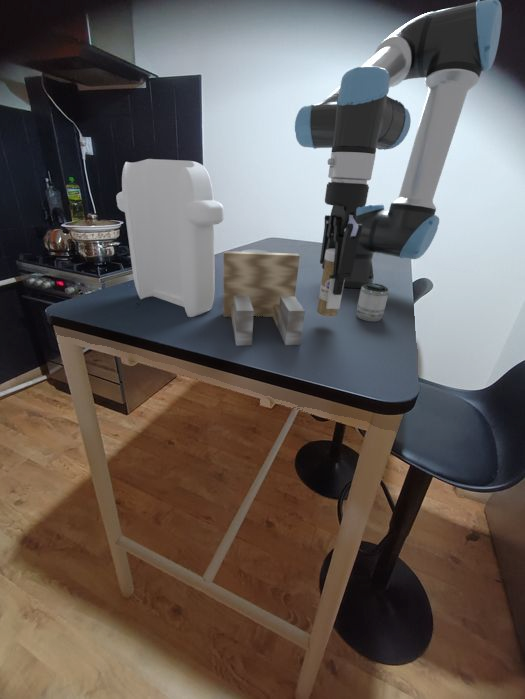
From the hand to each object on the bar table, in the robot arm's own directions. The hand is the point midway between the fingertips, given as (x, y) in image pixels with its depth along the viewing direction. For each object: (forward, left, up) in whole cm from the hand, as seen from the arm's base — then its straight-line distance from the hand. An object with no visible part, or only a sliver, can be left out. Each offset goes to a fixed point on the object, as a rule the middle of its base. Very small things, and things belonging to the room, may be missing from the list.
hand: (328, 303), depth 68 cm
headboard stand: (+14, +1, -5) cm, 15 cm away
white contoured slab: (+33, -14, -5) cm, 36 cm away
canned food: (+13, -22, -5) cm, 26 cm away
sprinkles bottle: (0, 0, -2) cm, 2 cm away
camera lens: (-13, -5, -5) cm, 14 cm away
